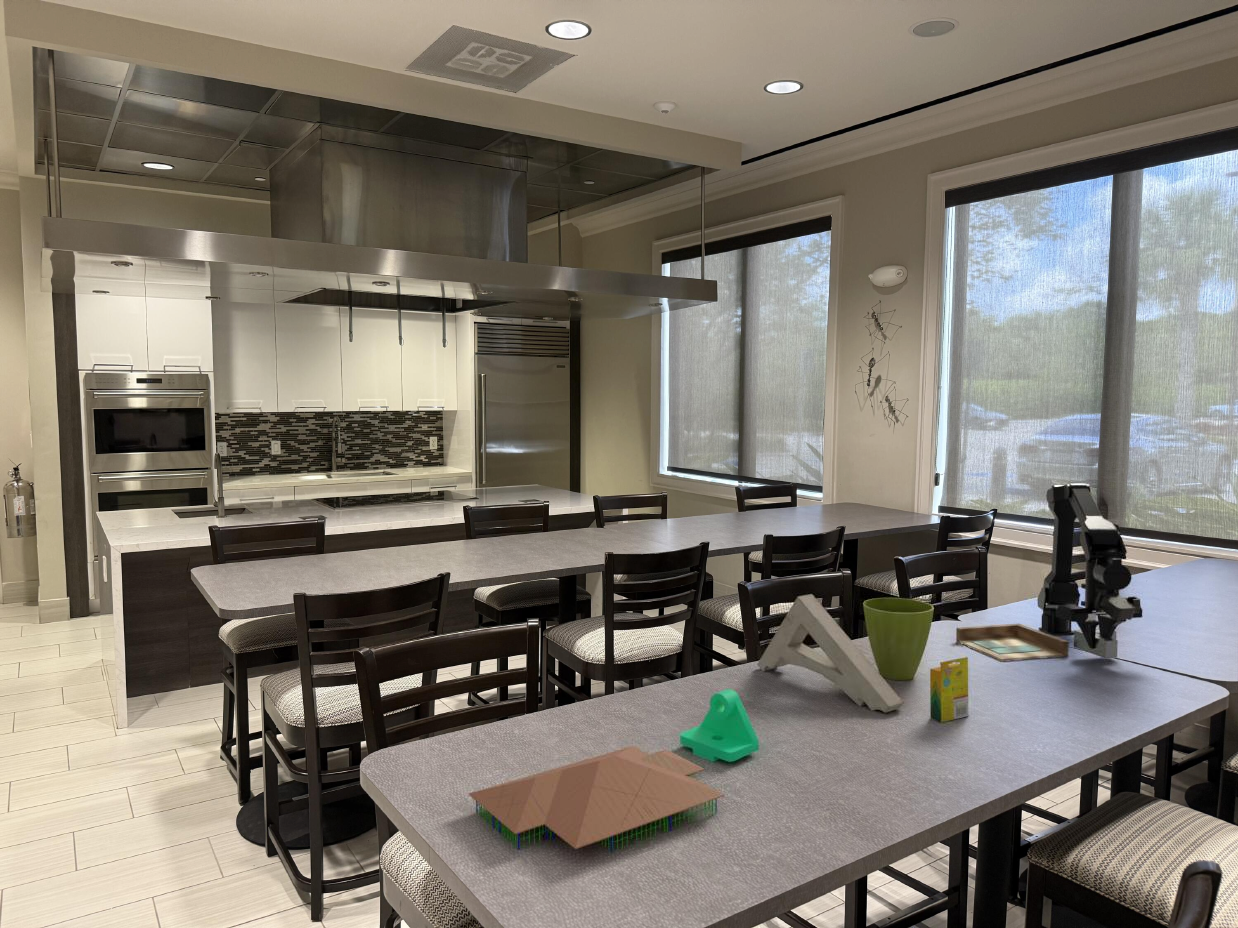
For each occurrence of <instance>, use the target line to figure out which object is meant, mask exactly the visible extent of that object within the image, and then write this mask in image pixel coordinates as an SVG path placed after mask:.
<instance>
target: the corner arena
mask: <svg viewBox="0 0 1238 928" xmlns="http://www.w3.org/2000/svg"><path fill="white" fill-rule="evenodd" d="M955 634H956V635H955V641H957V642H956V643H958V642H959V644H961V643H962V644H961V645H963V644H964V645H963V646H965V645H967V646H969V647H968V648H970V647H971V648H970V649H972V648H974V649H975V650H974V649H973V650H974V651H977V650H978V651H977V652H979V651H980V652H979V653H981V652H982V653H981V654H983V653H984V655H986V656H988V655H989V656H988V657H990V656H991V658H992V657H994V658H993V659H995V658H996V659H995V660H997V661H999V660H1001V661H1000V662H1008V661H1007V660H1014V661H1022V659H1027V660H1033V659H1032V658H1040V659H1048V658H1047V657H1053V658H1061V657H1069V652H1070V651H1069V649H1070V648H1069V647H1070V646H1069V645H1070V643H1069V640H1067V639H1066V640H1065V639H1064V638H1060V637H1057V636H1056V635H1053V634H1050V633H1047V632H1044V631H1041V630H1039V629H1035V628H1032V627H1030V626H1027V625H1023V624H1021V623H1008V624H993V625H992V624H991V625H979V626H978V625H976V626H962V627H956V630H955ZM967 646H966V647H967ZM1045 657H1046V658H1045Z"/></svg>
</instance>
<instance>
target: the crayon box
mask: <svg viewBox="0 0 1238 928" xmlns="http://www.w3.org/2000/svg"><path fill="white" fill-rule="evenodd" d="M968 658H969V657H967V656H965V657H961V658H955V659H951V660H945V661H941V662H939V663H940V664H939V665H940V666H939V667H934V668H933V667H932V668H930V669H929V670H930V671H929V672H930V673H929V675H930V676H929V677H930V678H929V680H930V681H929V682H930V683H929V685H930V686H929V687H930V689H929V691H930V692H929V693H930V697H929V698H930V701H929V703H930V706H929V708H930V709H929V710H930V711H929V713H930V715H929V716H930V717H929V718H930V719H931V720H933V721H937V722H939V723H943V724H944V722H949V721H953V720H956V719H960V718H961V719H962V718H966V717H967V718H968V717H969V662H968V661H969V659H968Z"/></svg>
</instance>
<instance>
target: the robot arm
mask: <svg viewBox="0 0 1238 928" xmlns="http://www.w3.org/2000/svg"><path fill="white" fill-rule="evenodd" d="M1045 497H1046V502H1047V503H1048V504H1047V506H1048V509H1049V511H1050V512H1051V514H1052V516H1053V517H1054V519H1053V520H1054V522H1053V539H1052V554H1051V571H1050V572H1049V573H1048V574H1047V576H1045V577H1044V579H1043V587H1041V590H1040V592H1039V593H1038V597H1037V600H1036V601H1037V607H1038V608H1039V609H1040V610H1042V614H1041V627H1038V631H1041V632H1044V633H1047V634H1049V635H1052V636H1063V635H1074V630H1072V623H1076V624H1077V626H1078V627H1079V630H1081V631H1082V633H1083V635H1084V637H1085V639H1086V641H1087V643H1088V645H1089V647H1090V648H1091V649H1094V647H1095V637H1096V629H1097V627H1098V629H1099V632H1100V635H1103V636H1106V637H1109V638H1111V637H1112V635H1113V633H1114V631H1116V629H1117V628H1118V626H1119V625H1121V624H1122V623H1126V622H1127V620H1128V621H1129V620H1130V621H1132V619H1138V618H1143V608H1142V606H1141V605H1142V604H1141V598H1139V597H1137V596H1135V595H1134V596H1128V597H1126V596H1123V597H1122V596H1121V595H1120V591H1121V590H1124V589H1126V588H1127V587H1128V586H1129V585H1130V583H1131V581H1132V574H1131V573H1132V572H1131V571H1130V570H1129V568H1127V566H1125V565H1123V560H1127V553H1128V552H1127V549H1126V545H1125V543H1124V540H1123V537H1122V535H1121V533H1120V532H1119V531H1118V529H1117V527H1116V526H1115V525H1114V524H1113V523H1112V522H1111V521H1109V520H1108V519H1105V518H1104V517H1103V515H1102V514H1101V512H1100V510H1099V508H1098V505H1097V503H1096V501H1095V500H1094V498H1093V495H1092V494H1091V487H1090V485H1089V484H1087V483H1075V482H1074V483H1068V484H1064V485H1059V484H1056V485H1055V484H1053V485H1052V486H1051V487H1050V488H1049V489H1047V491H1046V496H1045ZM1076 519H1078V522H1079V524H1080V526H1081V532H1080V535H1079V543H1080V546H1081V549H1082V551H1083V553H1084V558H1085V575H1084V576H1085V581H1084V582H1085V583H1081V586H1080V588H1081V589H1084V600H1081V601H1080V599H1081V593H1080V591H1079V585H1078V583H1077V582H1076V580H1075V579H1074V577H1073V575H1072V573H1073V572H1072V571H1073V570H1072V566H1073V553H1074V535H1075V521H1076ZM1079 604H1080V605H1079ZM1082 606H1083V607H1082ZM1096 616H1097V617H1096ZM1096 619H1097V620H1096Z"/></svg>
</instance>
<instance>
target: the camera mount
mask: <svg viewBox="0 0 1238 928" xmlns="http://www.w3.org/2000/svg"><path fill="white" fill-rule="evenodd" d="M709 706H710V707H709V709H708V711H707V713H706V715H705V716H704V718H703V719H702V722H701V724H700V725H698V726H696V727H693V728H690V729H688V730H685V731H683V732H681V733H679V743H680V745H682V746H683V747H684V746H685V747H688V748H690V749H692V754H693V755H695V756H698V757H700V758H703V759H706V760H709V761H710V762H711V761H712V762H714V763H715V762H716V761H718V760H722V761H724V762H725V761H726V762H730V763H731V762H736V761H737V760H740V759H742V758H745V757H746V756H748V755H751V754H753V753H755V752H758V751H759V750H760V741H759V738H758V736H757V734H756V731H755V729H754V727H753V724H752V723H751V722H752V721H751V720H750V718H749V716H748V713H747V712H746V709H745V706H744V705H743V701H742V700H741V697H740V696H739V694H738V693H737V691H735V690H734V689H730V688H729V689H728V688H727V689H725V690H722V691H719V692H715V693H713V695H711V697H710V701H709Z"/></svg>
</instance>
